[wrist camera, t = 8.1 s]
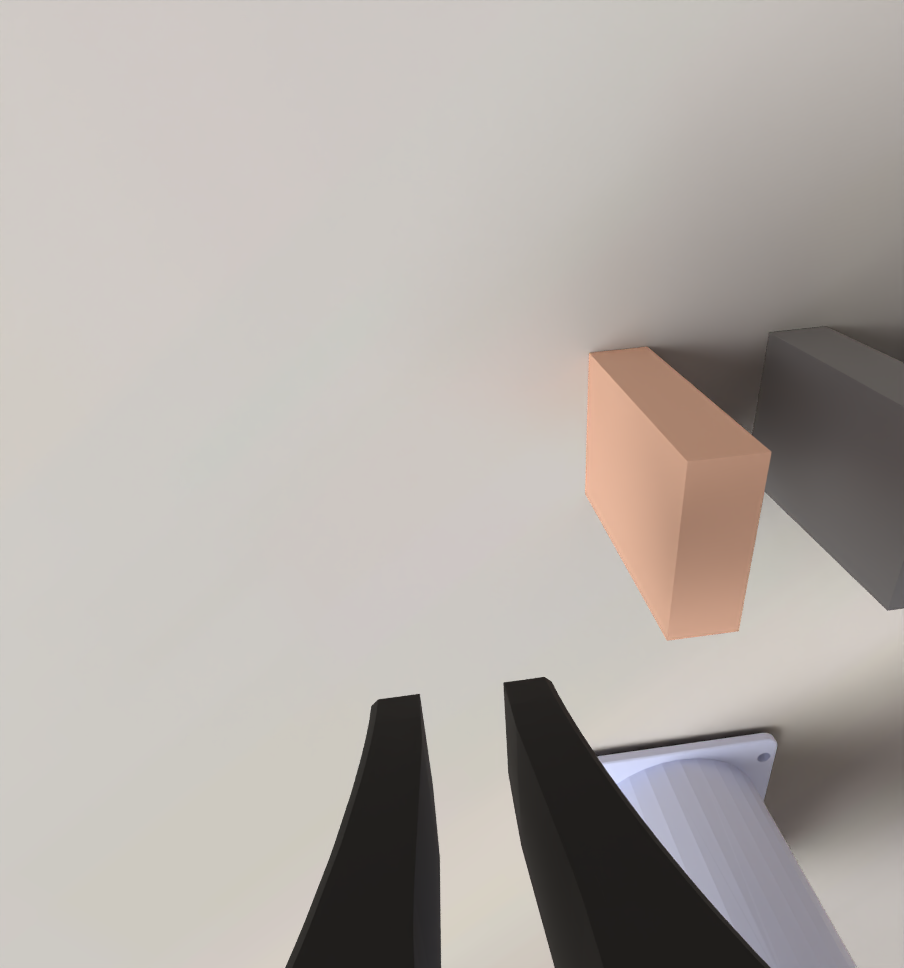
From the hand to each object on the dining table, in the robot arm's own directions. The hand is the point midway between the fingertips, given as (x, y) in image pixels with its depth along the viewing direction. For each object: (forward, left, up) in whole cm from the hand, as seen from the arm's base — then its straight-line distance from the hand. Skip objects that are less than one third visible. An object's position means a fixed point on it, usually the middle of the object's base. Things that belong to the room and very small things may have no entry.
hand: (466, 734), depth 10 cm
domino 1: (0, -6, -10) cm, 11 cm away
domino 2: (0, -11, -10) cm, 14 cm away
